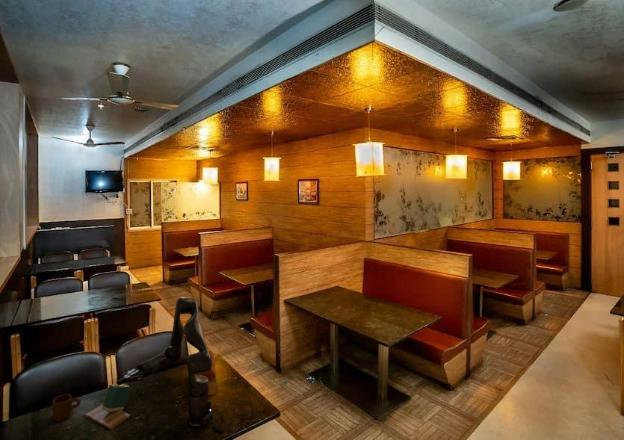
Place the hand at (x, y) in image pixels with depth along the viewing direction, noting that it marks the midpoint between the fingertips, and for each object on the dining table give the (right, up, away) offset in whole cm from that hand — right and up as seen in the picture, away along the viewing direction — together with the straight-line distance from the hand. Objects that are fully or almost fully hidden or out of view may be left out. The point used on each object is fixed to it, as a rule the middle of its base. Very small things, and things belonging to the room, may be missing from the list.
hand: (117, 383), depth 173 cm
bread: (+35, -12, +25) cm, 45 cm away
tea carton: (-1, -7, 0) cm, 7 cm away
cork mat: (-3, -14, -3) cm, 15 cm away
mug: (-22, -14, -4) cm, 26 cm away
